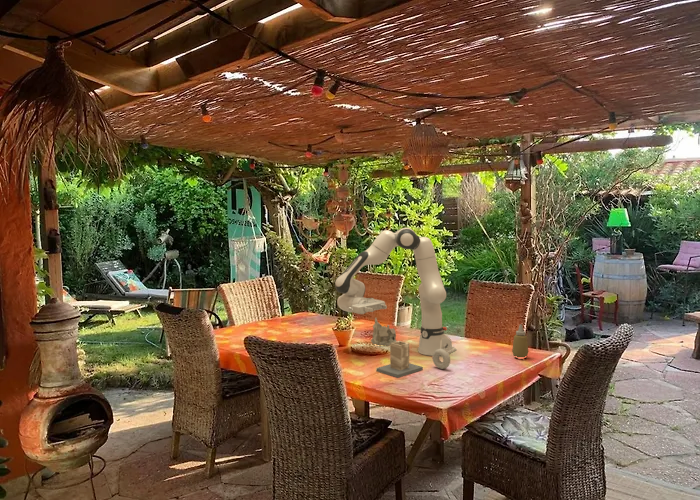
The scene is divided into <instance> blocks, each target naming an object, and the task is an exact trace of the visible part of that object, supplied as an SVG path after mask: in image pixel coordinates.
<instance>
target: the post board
mask: <svg viewBox="0 0 700 500" xmlns="http://www.w3.org/2000/svg"><path fill="white" fill-rule="evenodd" d="M423 369H424V366H420V365H418V364H417V365H416V364H413V363H410V362H409V368H406V369H403V370H397V369H394V368H391V367H390V363H389V364H387V365H386V364H385V365H383V366H379V367H376V369H375V370H376V372H378V373H381V374H384V375H387V376H389V377H390V376H391V377H393V378H396V379H398V378H399V379H400V378H402V377H406V376H409V375H412V374H415V373H418V372H421V371H423Z"/></svg>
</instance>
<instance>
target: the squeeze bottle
mask: <svg viewBox="0 0 700 500" xmlns="http://www.w3.org/2000/svg"><path fill="white" fill-rule="evenodd" d="M511 350H512V354H513V357H514V356H517V357H525V356H527V357H528V354H529V345H528V336H527V335H526V331H525V330H524V327H523V324H519V326H518V330H516V331H515V334H514V336H513V342H512V349H511Z"/></svg>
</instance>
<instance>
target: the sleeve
mask: <svg viewBox="0 0 700 500" xmlns="http://www.w3.org/2000/svg"><path fill="white" fill-rule="evenodd" d="M396 341H397V342H393V343H391V344H390V345H389V346H390V358H389V359H390V363H389V364H390V367H391V368H394V369H397V370H403V369H406V368H409V363H410V342H405V341H402V340H396Z"/></svg>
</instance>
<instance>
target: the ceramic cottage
mask: <svg viewBox="0 0 700 500" xmlns="http://www.w3.org/2000/svg"><path fill="white" fill-rule="evenodd" d="M382 325H383V324H381V323H380V322H378V317H374V324H373V326H372V329H373V333H372V338H371V339H370V343H371V342H372V343H373V344H377V345H386V346H385V347H387V346H388V347H389V346H390V344H391V343H393V342H397V341H398V340H397V339H396V337H397V332H396V329H395V328H391V327H390V324H387V325H386V326H385V325H384V326H382ZM372 343H371V344H372ZM373 344H372V345H373Z"/></svg>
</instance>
